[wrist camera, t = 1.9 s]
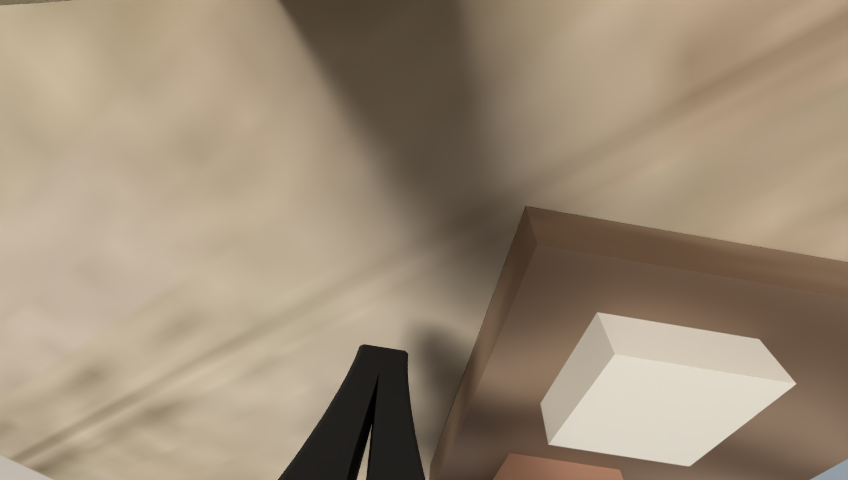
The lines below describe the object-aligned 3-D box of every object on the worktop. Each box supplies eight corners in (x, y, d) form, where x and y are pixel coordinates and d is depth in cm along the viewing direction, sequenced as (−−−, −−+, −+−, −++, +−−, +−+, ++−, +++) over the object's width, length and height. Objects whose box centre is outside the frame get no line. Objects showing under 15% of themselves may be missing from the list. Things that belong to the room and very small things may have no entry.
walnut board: (675, 503, 22) (692, 544, 21) (430, 465, 22) (428, 505, 20) (985, 286, 12) (1070, 336, 10) (525, 206, 11) (537, 244, 10)
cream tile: (669, 424, 14) (689, 466, 13) (540, 403, 14) (548, 444, 13) (759, 339, 11) (796, 383, 10) (597, 312, 11) (614, 354, 10)
